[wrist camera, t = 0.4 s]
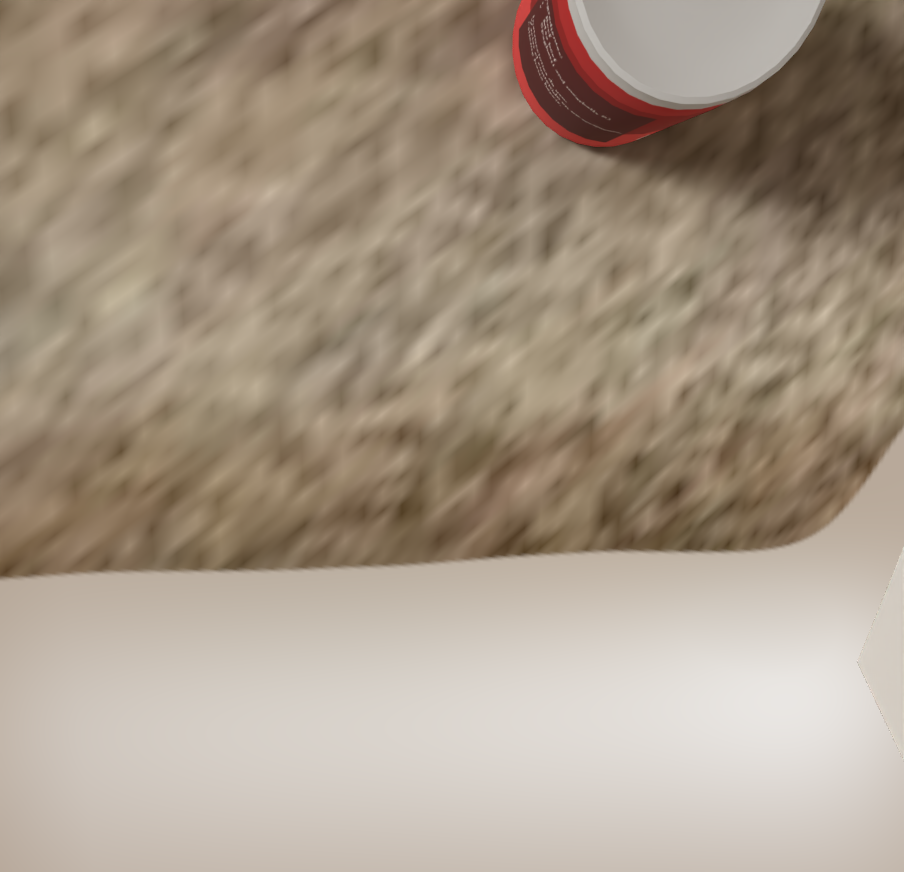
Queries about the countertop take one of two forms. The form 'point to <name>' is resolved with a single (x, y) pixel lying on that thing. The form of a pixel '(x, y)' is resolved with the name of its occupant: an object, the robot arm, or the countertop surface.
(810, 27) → the canned food
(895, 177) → the countertop surface
